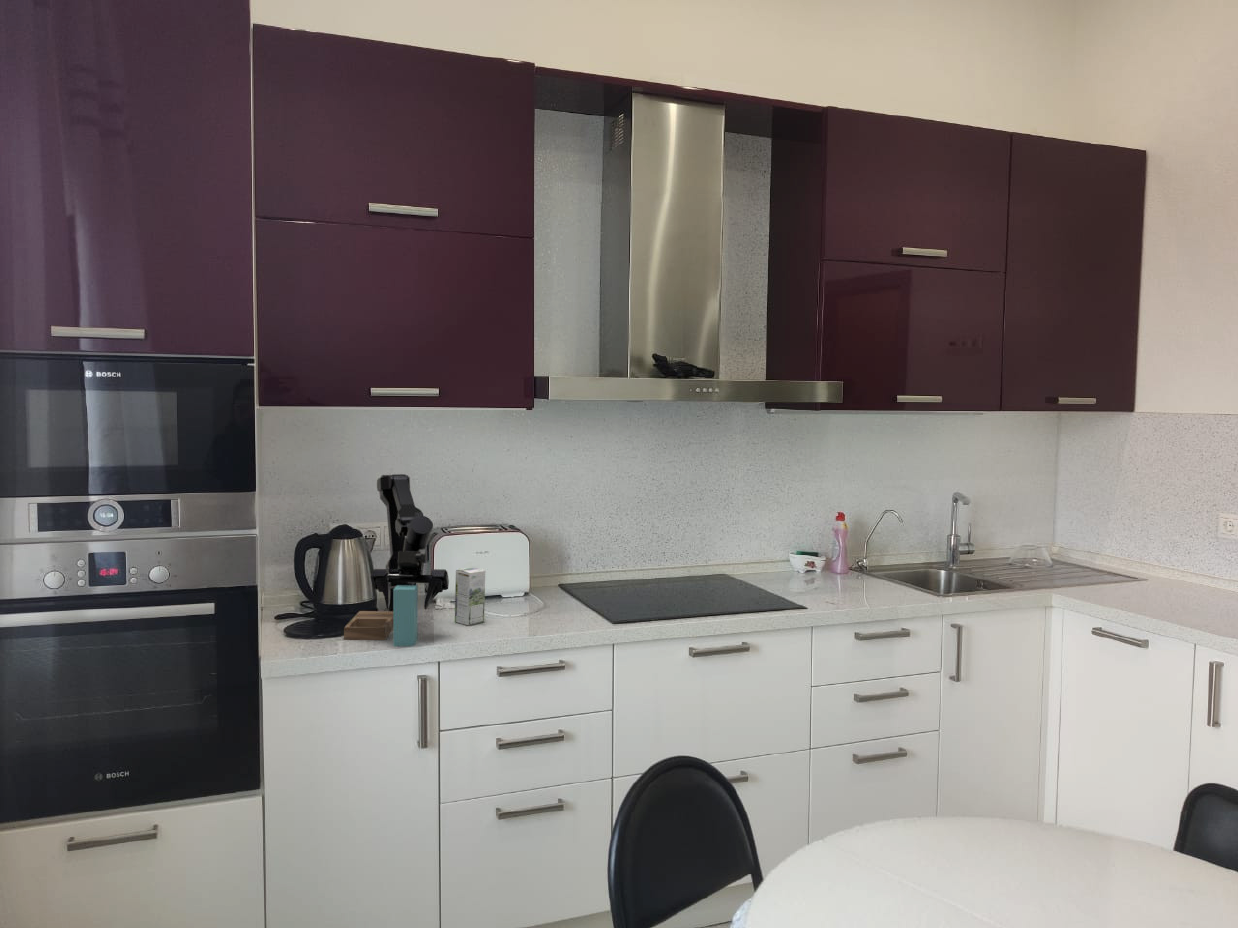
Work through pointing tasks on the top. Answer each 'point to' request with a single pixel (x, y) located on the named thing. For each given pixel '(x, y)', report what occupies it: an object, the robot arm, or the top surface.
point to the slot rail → (369, 626)
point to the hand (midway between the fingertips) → (406, 608)
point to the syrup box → (469, 596)
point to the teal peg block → (405, 615)
